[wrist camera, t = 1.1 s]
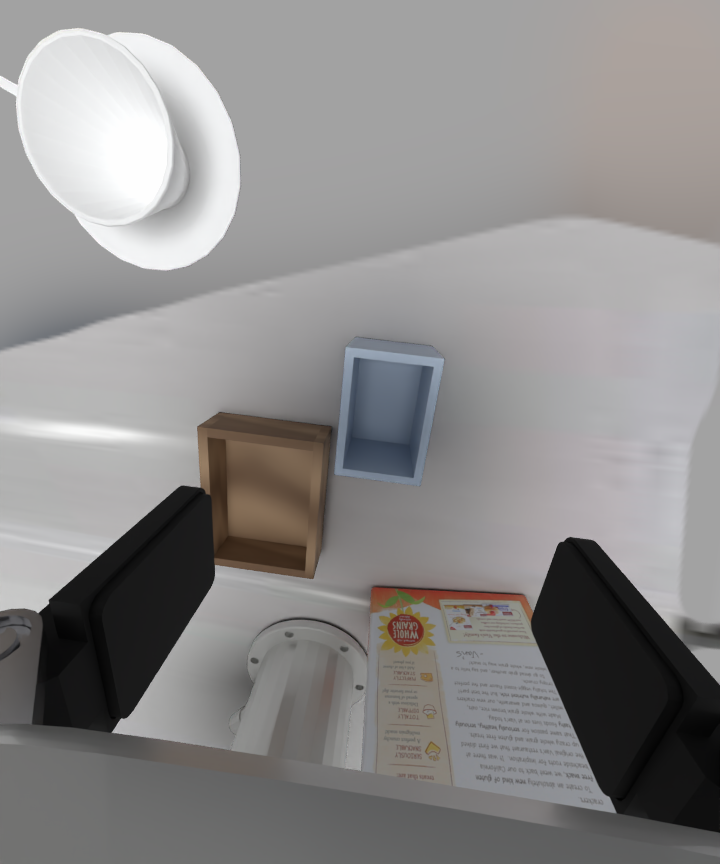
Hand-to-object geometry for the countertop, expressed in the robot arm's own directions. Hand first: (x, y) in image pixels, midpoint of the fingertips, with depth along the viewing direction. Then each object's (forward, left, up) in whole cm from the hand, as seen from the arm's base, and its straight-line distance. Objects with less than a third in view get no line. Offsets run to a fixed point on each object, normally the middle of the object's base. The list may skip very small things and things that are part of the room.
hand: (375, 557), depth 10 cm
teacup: (0, +21, -19) cm, 28 cm away
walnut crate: (-12, +1, -18) cm, 22 cm away
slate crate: (0, 0, -18) cm, 18 cm away
